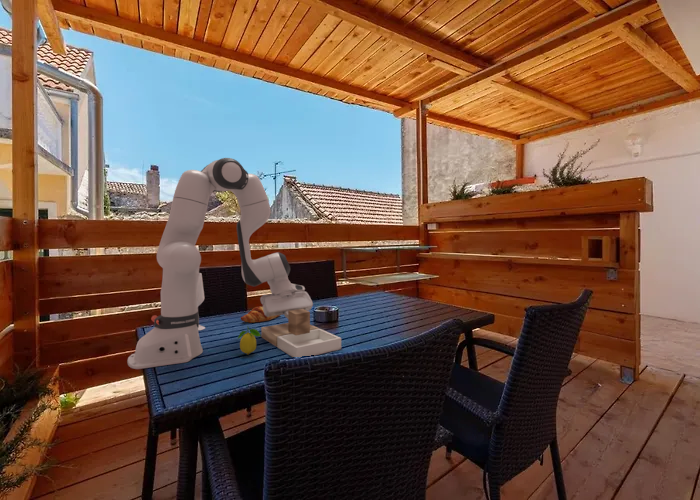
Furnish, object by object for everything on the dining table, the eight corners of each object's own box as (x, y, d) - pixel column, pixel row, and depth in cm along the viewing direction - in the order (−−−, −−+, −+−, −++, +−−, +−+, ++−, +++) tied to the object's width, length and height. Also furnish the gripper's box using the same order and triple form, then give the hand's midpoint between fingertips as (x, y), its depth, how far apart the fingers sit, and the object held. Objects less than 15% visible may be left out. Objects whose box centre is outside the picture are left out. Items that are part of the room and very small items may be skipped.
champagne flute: (184, 329, 150) (183, 274, 149) (198, 325, 156) (196, 272, 155) (195, 331, 147) (194, 275, 146) (208, 327, 153) (207, 273, 152)
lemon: (261, 355, 120) (260, 326, 119) (244, 359, 116) (244, 329, 115) (253, 350, 125) (252, 322, 124) (236, 353, 121) (236, 325, 120)
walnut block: (295, 335, 129) (295, 314, 128) (288, 331, 134) (288, 310, 133) (309, 332, 132) (309, 311, 132) (302, 328, 137) (302, 308, 137)
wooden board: (276, 346, 128) (276, 335, 128) (261, 337, 140) (261, 327, 139) (318, 337, 139) (318, 327, 139) (301, 329, 150) (301, 320, 150)
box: (296, 359, 115) (296, 347, 115) (277, 347, 128) (277, 336, 127) (341, 348, 126) (341, 338, 126) (319, 338, 138) (319, 328, 138)
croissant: (277, 321, 176) (273, 306, 179) (287, 315, 170) (283, 300, 172) (238, 329, 162) (234, 312, 164) (248, 322, 155) (244, 305, 157)
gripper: (261, 290, 135) (271, 321, 128) (307, 285, 147) (319, 313, 140) (256, 300, 139) (266, 330, 131) (302, 294, 151) (314, 321, 144)
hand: (294, 321), depth 136 cm, fingers closed, pressing on walnut block
